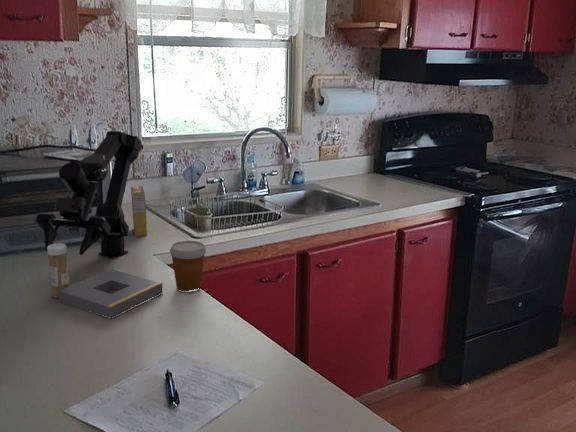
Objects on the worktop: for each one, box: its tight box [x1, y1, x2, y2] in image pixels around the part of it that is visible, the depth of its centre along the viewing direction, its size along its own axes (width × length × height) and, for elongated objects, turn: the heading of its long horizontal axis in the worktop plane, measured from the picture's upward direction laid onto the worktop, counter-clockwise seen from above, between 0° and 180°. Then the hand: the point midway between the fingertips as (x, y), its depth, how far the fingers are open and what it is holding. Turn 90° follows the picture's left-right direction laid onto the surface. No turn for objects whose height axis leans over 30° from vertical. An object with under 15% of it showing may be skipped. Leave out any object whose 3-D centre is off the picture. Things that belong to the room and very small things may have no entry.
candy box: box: [130, 185, 148, 237], centre depth 206 cm, size 9×4×15 cm, turn 17°
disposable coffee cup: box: [169, 240, 207, 292], centre depth 161 cm, size 10×10×12 cm
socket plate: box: [58, 269, 164, 318], centre depth 155 cm, size 18×18×3 cm
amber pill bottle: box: [46, 242, 70, 299], centre depth 154 cm, size 5×5×14 cm
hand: (63, 252), depth 156 cm, fingers open, 9 cm apart
